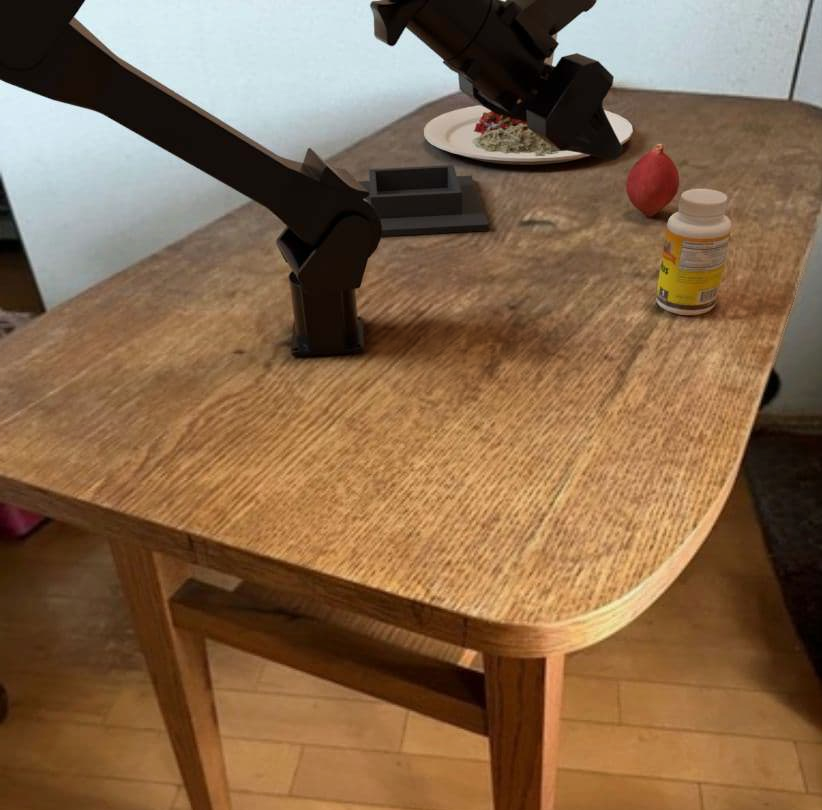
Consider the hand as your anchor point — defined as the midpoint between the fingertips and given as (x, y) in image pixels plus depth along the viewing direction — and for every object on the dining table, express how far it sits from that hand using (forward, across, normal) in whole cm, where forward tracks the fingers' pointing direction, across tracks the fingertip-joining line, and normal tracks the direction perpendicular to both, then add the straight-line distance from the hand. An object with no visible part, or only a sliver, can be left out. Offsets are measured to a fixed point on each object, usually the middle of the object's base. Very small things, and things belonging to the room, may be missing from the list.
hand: (591, 140), depth 76 cm
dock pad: (+4, +30, +15) cm, 34 cm away
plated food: (+23, +50, 0) cm, 55 cm away
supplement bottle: (+15, -7, +6) cm, 18 cm away
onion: (+23, +16, 0) cm, 27 cm away
